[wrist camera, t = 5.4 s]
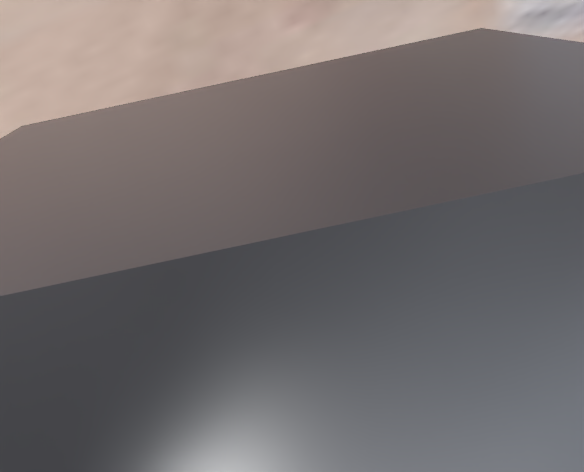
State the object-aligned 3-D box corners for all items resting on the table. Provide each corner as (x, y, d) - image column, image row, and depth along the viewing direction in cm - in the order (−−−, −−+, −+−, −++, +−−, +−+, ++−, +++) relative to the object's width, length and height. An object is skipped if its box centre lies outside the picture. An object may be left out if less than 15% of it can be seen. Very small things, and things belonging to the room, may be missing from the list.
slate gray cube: (481, 27, 12) (951, 95, 4) (500, 395, 16) (753, 792, 8) (21, 126, 12) (-415, 382, 4) (157, 467, 16) (71, 931, 8)
